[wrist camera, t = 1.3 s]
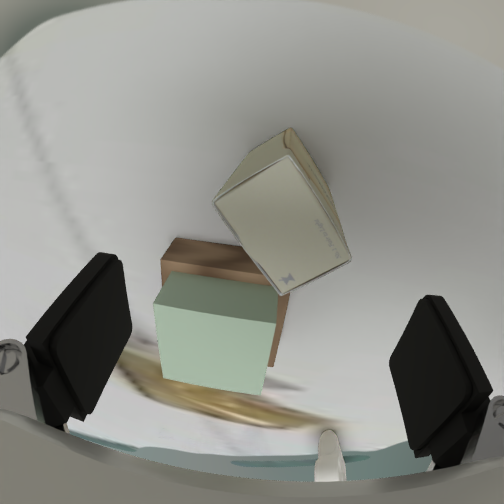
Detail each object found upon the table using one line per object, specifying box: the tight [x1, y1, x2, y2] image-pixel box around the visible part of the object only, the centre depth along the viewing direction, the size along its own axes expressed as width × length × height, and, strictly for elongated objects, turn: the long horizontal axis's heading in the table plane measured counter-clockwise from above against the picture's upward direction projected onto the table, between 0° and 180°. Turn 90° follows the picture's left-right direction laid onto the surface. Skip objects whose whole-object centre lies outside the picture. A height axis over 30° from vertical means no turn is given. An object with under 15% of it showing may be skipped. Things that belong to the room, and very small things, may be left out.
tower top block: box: [153, 271, 278, 395], centre depth 26 cm, size 9×9×4 cm
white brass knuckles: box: [315, 430, 347, 482], centre depth 39 cm, size 3×18×15 cm, turn 19°
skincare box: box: [212, 128, 352, 296], centre depth 20 cm, size 6×4×12 cm
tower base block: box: [161, 238, 290, 367], centre depth 30 cm, size 11×11×4 cm
